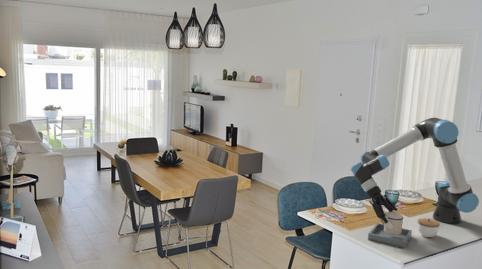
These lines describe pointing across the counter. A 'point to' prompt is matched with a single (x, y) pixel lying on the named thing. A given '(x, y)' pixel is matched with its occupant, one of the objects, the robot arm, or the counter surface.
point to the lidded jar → (428, 227)
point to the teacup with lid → (393, 223)
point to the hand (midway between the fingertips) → (396, 226)
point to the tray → (389, 236)
